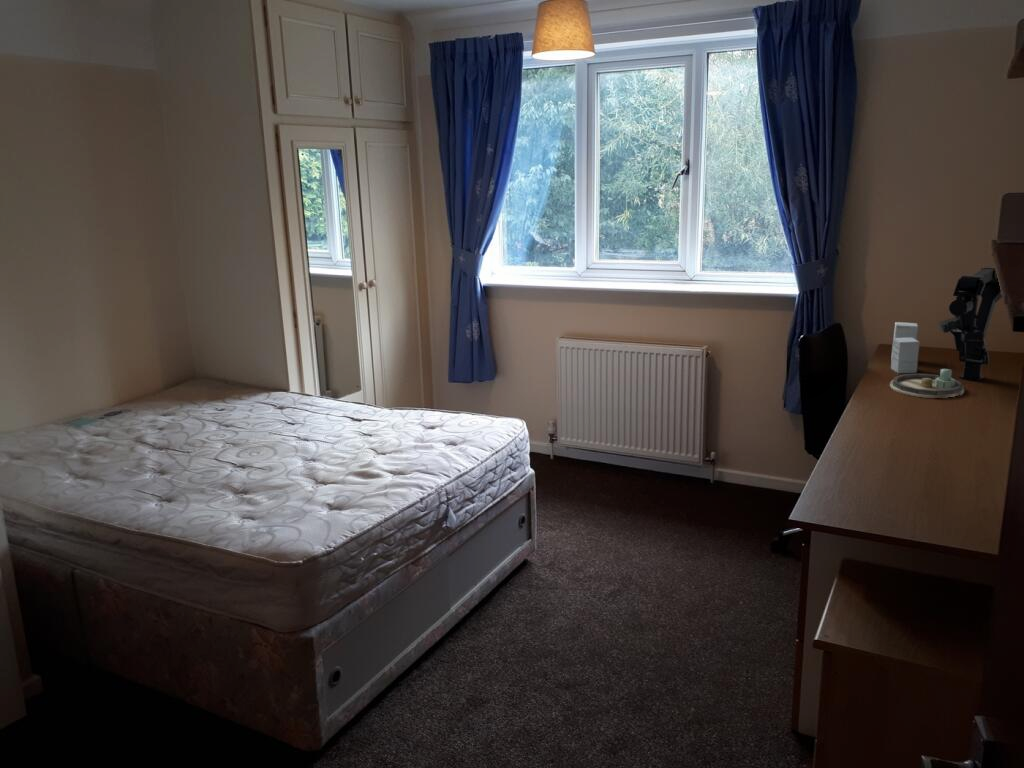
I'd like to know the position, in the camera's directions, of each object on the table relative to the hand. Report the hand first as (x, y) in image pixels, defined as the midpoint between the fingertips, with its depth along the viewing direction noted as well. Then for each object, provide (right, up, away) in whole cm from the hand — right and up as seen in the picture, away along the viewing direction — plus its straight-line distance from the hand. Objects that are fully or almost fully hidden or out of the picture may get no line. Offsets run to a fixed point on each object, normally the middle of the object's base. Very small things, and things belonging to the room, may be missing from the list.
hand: (962, 354), depth 285 cm
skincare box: (-3, -2, +39) cm, 39 cm away
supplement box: (-9, -6, +25) cm, 27 cm away
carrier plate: (-12, -12, +2) cm, 17 cm away
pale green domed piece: (-6, -11, +1) cm, 13 cm away
